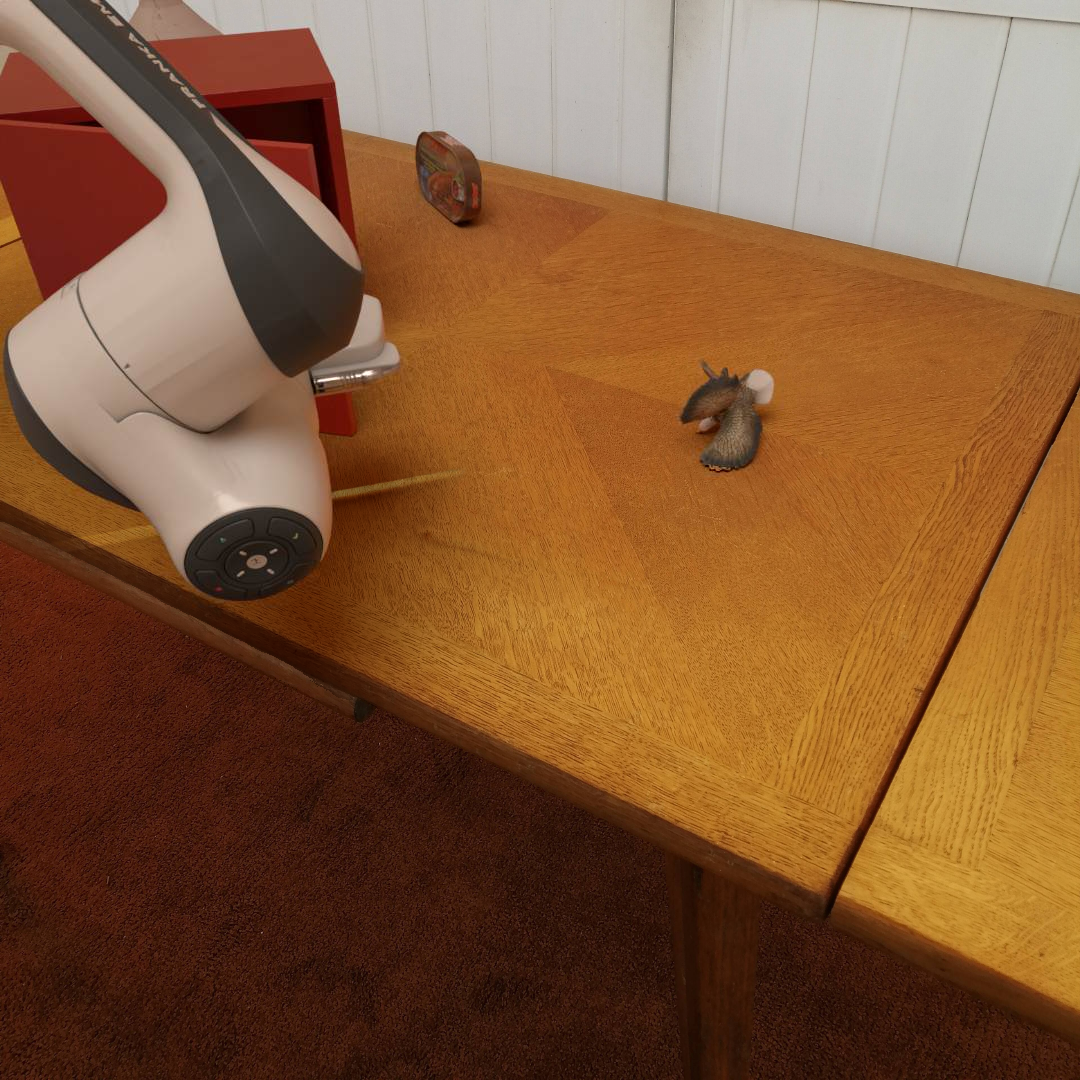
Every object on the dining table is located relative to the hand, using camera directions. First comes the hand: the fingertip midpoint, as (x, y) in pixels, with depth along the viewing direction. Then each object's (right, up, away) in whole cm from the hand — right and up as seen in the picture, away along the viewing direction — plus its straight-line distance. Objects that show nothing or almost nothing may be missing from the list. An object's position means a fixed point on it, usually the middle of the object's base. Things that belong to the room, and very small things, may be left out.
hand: (233, 303), depth 73 cm
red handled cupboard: (-7, -8, +13) cm, 17 cm away
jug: (-23, +32, +61) cm, 73 cm away
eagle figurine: (+38, -9, +12) cm, 40 cm away
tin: (+11, +23, +50) cm, 56 cm away
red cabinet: (-9, +4, +28) cm, 30 cm away
